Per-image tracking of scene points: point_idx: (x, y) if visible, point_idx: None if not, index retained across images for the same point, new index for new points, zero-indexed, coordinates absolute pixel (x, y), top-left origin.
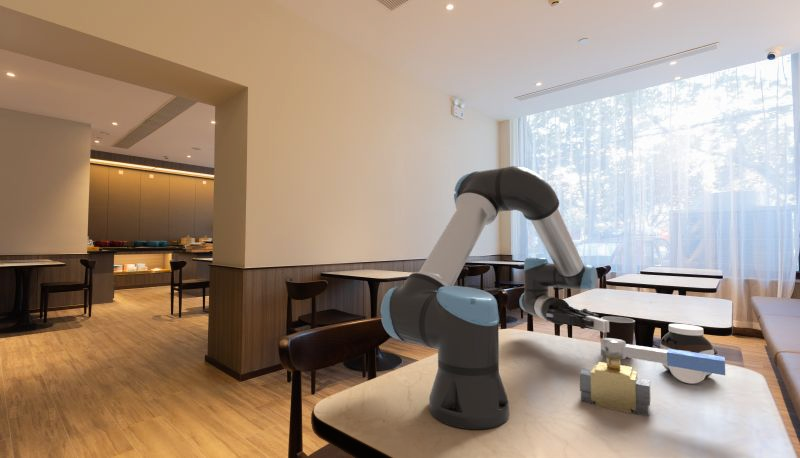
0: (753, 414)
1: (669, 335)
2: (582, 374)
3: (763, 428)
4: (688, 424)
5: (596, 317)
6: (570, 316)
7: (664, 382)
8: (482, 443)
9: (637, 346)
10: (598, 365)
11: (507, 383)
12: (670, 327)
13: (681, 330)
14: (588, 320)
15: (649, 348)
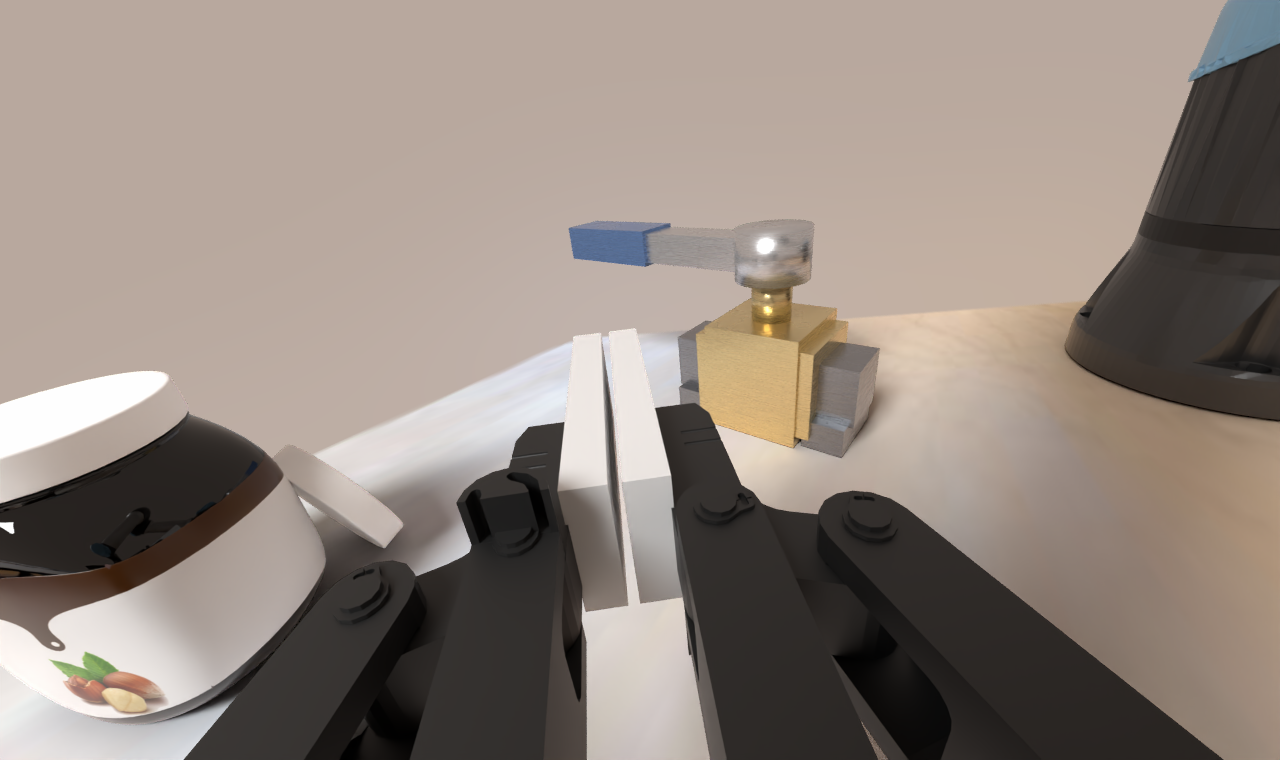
0: (474, 400)
1: (160, 471)
2: (869, 348)
3: (528, 370)
4: (654, 368)
5: (572, 418)
6: (952, 559)
7: (456, 545)
8: (1076, 311)
9: (709, 234)
10: (813, 325)
11: (1238, 518)
12: (116, 424)
13: (174, 390)
14: (698, 423)
15: (686, 232)
